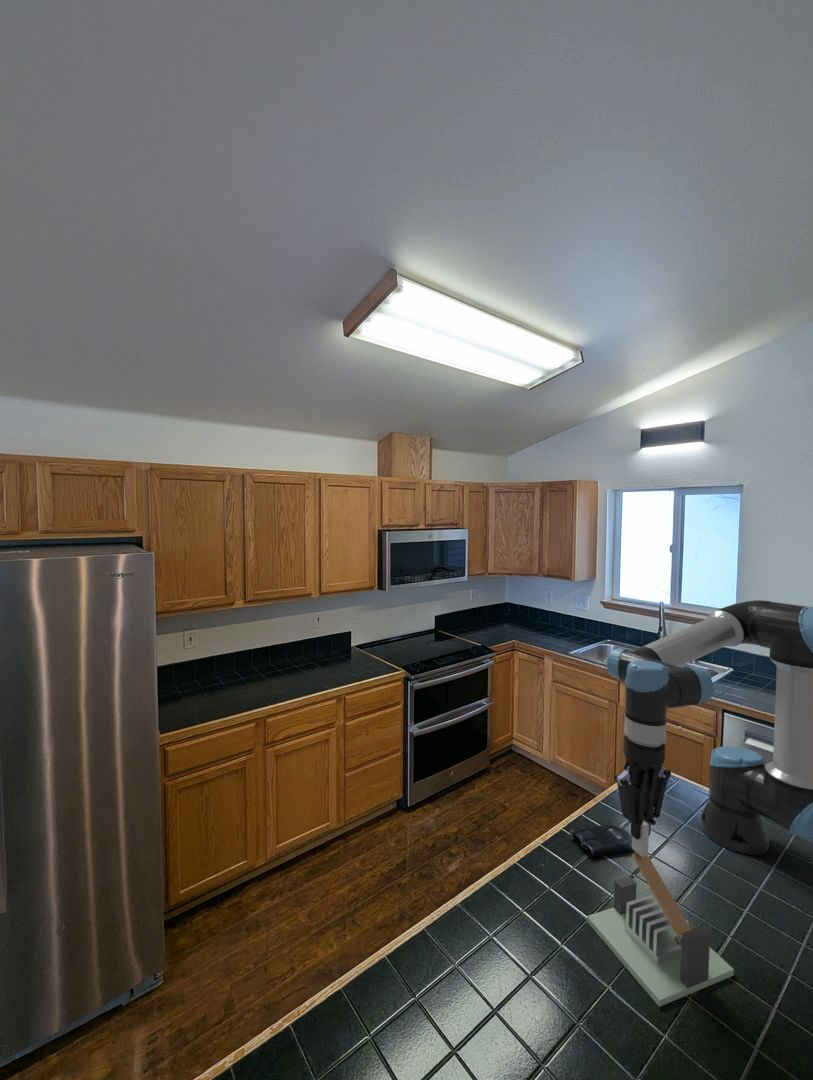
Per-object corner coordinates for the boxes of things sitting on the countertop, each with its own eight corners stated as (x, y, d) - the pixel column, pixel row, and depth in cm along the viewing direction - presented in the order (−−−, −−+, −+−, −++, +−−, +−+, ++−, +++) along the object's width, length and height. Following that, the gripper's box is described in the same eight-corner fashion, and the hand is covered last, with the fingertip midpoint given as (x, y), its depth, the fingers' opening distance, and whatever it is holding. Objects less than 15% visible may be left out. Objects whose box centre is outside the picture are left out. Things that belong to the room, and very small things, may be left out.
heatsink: (654, 919, 96) (655, 891, 96) (689, 953, 89) (690, 923, 88) (624, 929, 94) (625, 901, 93) (657, 965, 86) (658, 934, 86)
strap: (645, 851, 96) (647, 849, 96) (696, 939, 85) (699, 937, 85) (628, 856, 95) (631, 853, 94) (678, 946, 84) (681, 944, 83)
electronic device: (594, 870, 114) (643, 849, 118) (590, 847, 114) (639, 827, 118) (571, 849, 123) (617, 831, 127) (567, 828, 123) (613, 810, 127)
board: (653, 900, 103) (654, 856, 102) (733, 975, 86) (735, 923, 85) (586, 921, 97) (588, 875, 96) (659, 1006, 80) (661, 951, 79)
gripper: (653, 727, 100) (649, 833, 100) (605, 734, 95) (600, 846, 96) (684, 743, 93) (679, 857, 93) (633, 752, 88) (629, 872, 89)
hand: (639, 851), depth 95 cm, fingers closed
